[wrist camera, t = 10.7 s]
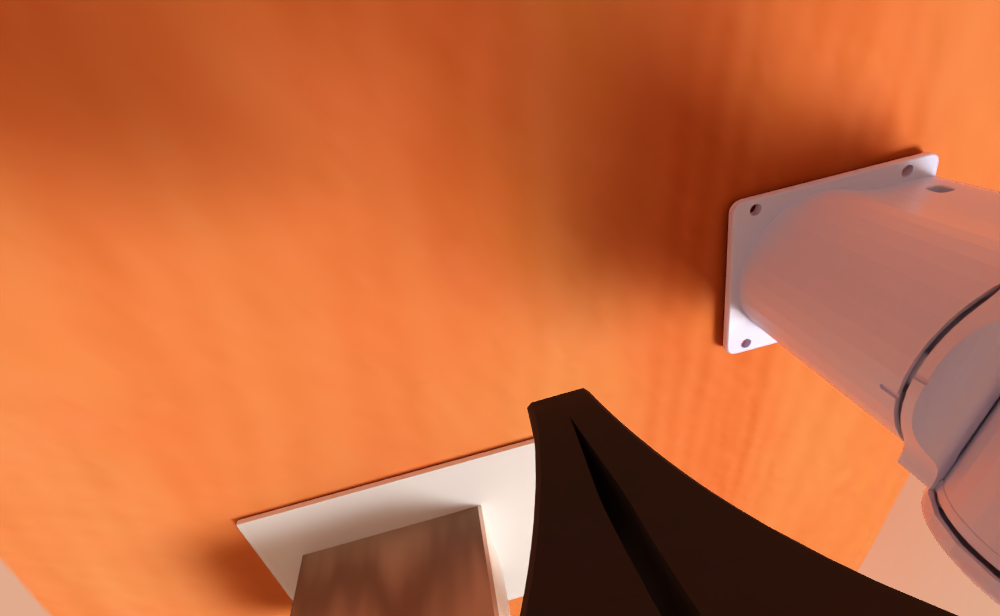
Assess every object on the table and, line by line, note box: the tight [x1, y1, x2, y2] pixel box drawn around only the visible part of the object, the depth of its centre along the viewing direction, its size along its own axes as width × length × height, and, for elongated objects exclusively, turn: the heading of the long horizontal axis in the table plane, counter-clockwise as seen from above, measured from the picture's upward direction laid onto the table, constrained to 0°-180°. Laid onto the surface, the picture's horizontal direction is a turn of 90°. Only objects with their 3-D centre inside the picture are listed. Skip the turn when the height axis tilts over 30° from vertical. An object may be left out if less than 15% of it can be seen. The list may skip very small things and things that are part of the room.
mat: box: [236, 439, 536, 601], centre depth 28 cm, size 19×13×1 cm
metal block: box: [290, 505, 511, 616], centre depth 25 cm, size 6×6×10 cm
